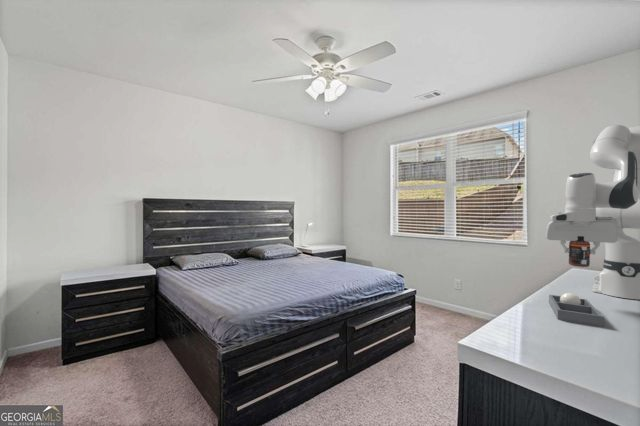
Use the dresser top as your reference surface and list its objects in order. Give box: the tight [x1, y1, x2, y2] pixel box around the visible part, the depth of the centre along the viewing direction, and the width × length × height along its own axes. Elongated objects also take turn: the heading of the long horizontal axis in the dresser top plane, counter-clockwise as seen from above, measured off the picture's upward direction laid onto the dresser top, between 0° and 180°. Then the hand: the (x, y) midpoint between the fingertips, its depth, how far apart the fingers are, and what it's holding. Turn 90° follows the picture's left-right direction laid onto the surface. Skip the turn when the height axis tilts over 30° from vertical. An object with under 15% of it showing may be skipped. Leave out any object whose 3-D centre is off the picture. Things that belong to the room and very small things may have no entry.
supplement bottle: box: [568, 236, 591, 268], centre depth 112 cm, size 6×6×11 cm
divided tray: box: [548, 294, 604, 328], centre depth 100 cm, size 20×11×4 cm, turn 149°
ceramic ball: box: [560, 292, 581, 305], centre depth 104 cm, size 6×6×6 cm
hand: (579, 253), depth 112 cm, fingers closed on supplement bottle, 6 cm apart
